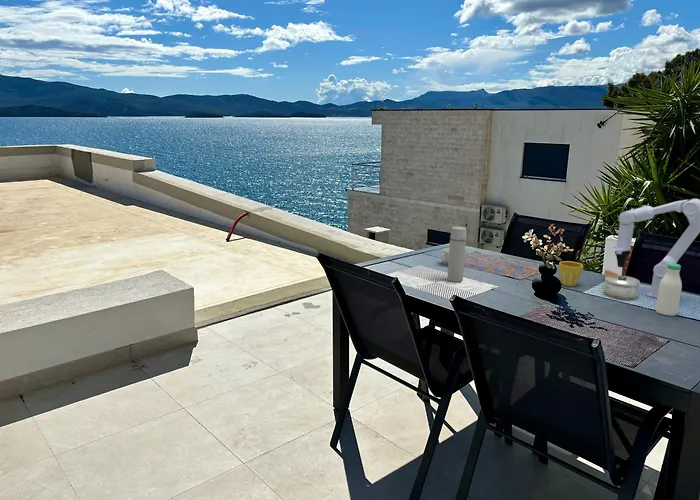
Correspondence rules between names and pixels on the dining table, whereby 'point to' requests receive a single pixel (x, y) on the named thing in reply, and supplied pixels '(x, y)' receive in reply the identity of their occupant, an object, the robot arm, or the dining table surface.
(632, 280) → the cooker lid
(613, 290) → the cooker pot
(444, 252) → the teacup
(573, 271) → the plant pot
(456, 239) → the water bottle
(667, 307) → the milk bottle
